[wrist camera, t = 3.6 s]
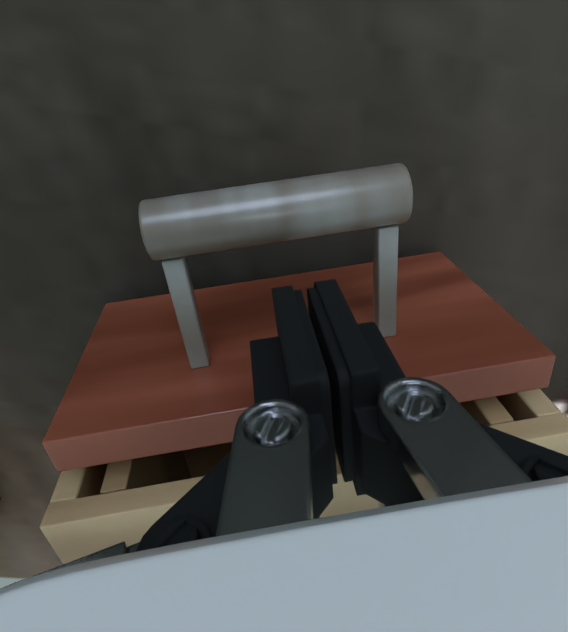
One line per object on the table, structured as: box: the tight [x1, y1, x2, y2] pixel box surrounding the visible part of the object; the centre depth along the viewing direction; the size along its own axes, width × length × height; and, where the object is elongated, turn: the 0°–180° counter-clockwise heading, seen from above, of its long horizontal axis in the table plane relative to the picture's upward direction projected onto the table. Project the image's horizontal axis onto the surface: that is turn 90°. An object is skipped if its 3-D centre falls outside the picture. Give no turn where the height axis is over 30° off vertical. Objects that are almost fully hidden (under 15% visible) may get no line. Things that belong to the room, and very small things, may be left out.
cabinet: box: [40, 389, 568, 564], centre depth 20 cm, size 15×16×10 cm
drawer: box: [42, 163, 556, 494], centre depth 18 cm, size 19×14×8 cm
